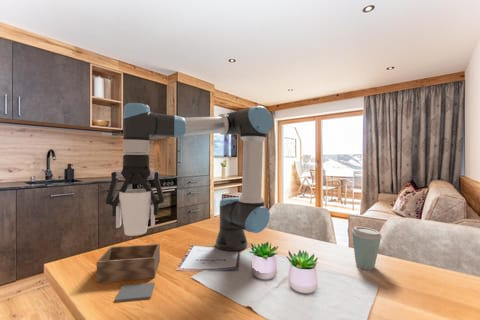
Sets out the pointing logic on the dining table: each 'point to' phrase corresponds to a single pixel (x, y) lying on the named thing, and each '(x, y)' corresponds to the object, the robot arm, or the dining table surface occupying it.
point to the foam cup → (135, 210)
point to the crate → (128, 263)
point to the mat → (135, 292)
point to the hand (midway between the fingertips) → (135, 225)
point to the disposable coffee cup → (366, 246)
